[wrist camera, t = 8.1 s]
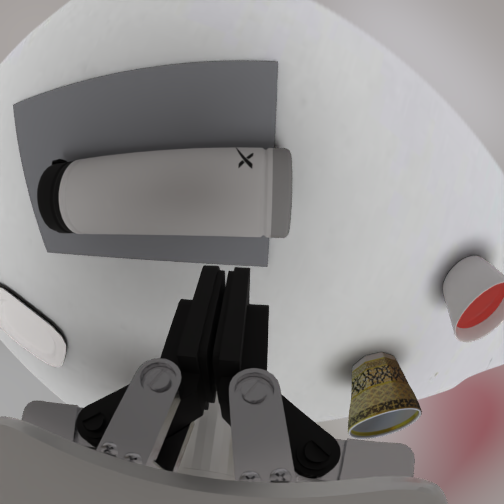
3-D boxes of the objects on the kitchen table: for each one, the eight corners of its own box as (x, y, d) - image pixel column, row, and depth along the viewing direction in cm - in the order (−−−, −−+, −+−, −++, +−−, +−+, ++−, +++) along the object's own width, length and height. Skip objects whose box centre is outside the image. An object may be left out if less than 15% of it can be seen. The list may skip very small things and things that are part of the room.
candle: (454, 313, 31) (472, 349, 26) (421, 288, 29) (441, 329, 24) (499, 267, 26) (523, 300, 21) (473, 232, 24) (504, 267, 19)
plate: (63, 368, 47) (60, 374, 46) (-1, 320, 42) (-5, 326, 40) (73, 331, 38) (69, 338, 37) (-7, 270, 33) (-12, 276, 31)
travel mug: (292, 131, 16) (35, 154, 17) (291, 240, 17) (30, 235, 18) (286, 155, 23) (76, 165, 24) (284, 236, 23) (73, 232, 24)
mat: (267, 263, 28) (267, 266, 27) (50, 249, 29) (47, 252, 28) (277, 62, 18) (277, 61, 17) (16, 103, 19) (13, 104, 18)
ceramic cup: (337, 354, 36) (346, 421, 27) (407, 336, 33) (428, 399, 25) (343, 395, 42) (349, 448, 34) (400, 381, 40) (412, 433, 32)
